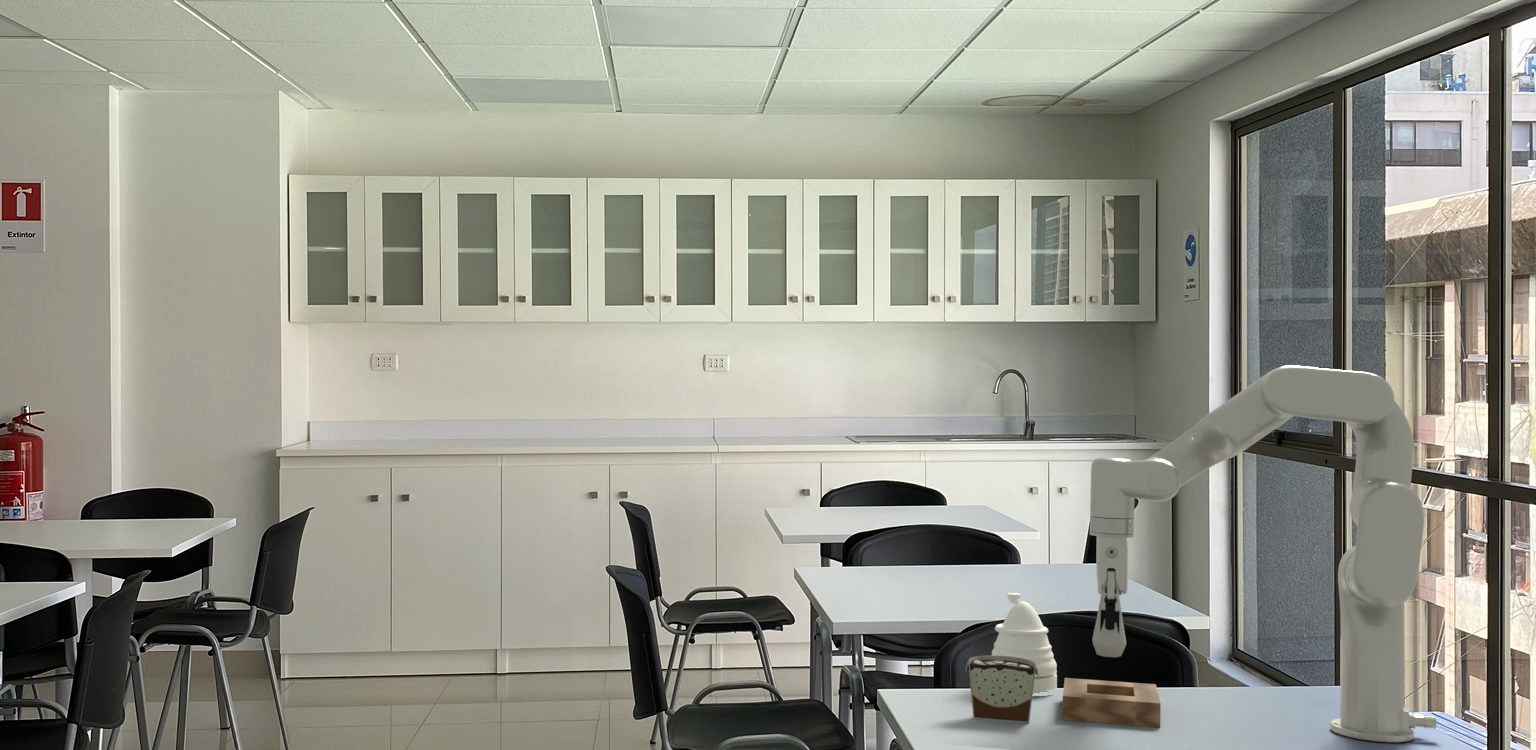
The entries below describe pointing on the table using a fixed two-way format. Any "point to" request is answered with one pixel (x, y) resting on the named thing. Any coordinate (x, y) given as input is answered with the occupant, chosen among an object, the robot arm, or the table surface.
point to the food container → (1001, 687)
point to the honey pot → (1027, 642)
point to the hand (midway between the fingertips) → (1109, 631)
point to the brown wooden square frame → (1111, 702)
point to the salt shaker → (1109, 634)
